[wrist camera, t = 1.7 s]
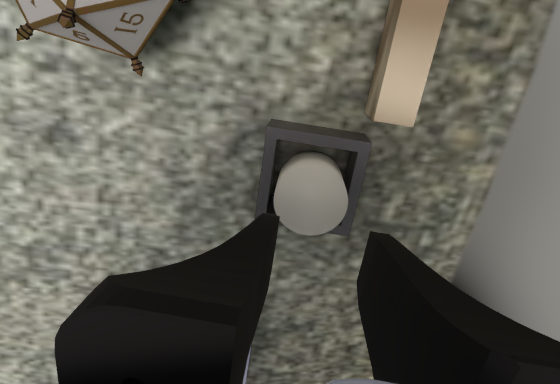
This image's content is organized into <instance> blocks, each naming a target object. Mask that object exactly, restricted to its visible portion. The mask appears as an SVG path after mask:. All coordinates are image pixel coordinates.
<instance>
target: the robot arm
mask: <svg viewBox="0 0 560 384" xmlns="http://www.w3.org/2000/svg"><path fill="white" fill-rule="evenodd" d="M279 220H280V216H276V215H270V214H264V213H262V214H261V215H259V216H258V217H257V218H256V219H255V220H254V221H253V222H251V223H250V224H249V225H248V226H247V227H245V228H244V229H243V230H242V231H240V232H239V233H238V234H236V235H235V236H234V237H232V238H230V239H229V240H227V241H226V242H224V243H223V244H221V245H219V246H218V247H216V248H214V249H212V250H210V251H207V252H205V253H203V254H201V255H198V256H195V257H193V258H190V259H187V260H184V261H182V262H179V263H175V264H172V265H168V266H165V267H160V268H156V269H152V270H146V271H141V272H134V273H127V274H120V275H112V276H108V277H107V278H106V279H105V280H103V281H102V282H101V283H100V284H99V285H98V286H97V287H96V288H95V289H94V290H93V291H92V292H91V293H90V294H89V295H88V296H87V297H86V298H85V299H84V301H83V302H82V303H81V304H80V305H79V306H78V307H77V308H76V309H75V310H74V311H73V313H72V314H71V315H70V316H69V317H68V318H67V319H66V320H65V321H64V322H63V323H62V325H61V326H60V328H59V330H58V333H57V335H56V337H55V359H56V366H57V374H58V382H59V384H246V378H247V371H248V364H249V358H250V351H251V344H252V340H253V337H254V334H255V331H256V327H257V324H258V321H259V318H260V314H261V311H262V308H263V305H264V301H265V298H266V295H267V291H268V286H269V281H270V275H271V270H272V264H273V257H274V251H275V245H276V239H277V232H278V226H279ZM357 293H358V306H359V311H360V316H361V321H362V325H363V330H364V334H365V339H366V343H367V348H368V352H369V357H370V361H371V366H372V371H373V377H374V380H373V379H334V380H332V381H330V382H328V383H326V384H560V342H559V341H557V340H554V339H552V338H550V337H548V336H545V335H543V334H541V333H538V332H536V331H534V330H532V329H530V328H528V327H526V326H523V325H521V324H519V323H517V322H515V321H513V320H511V319H510V318H508V317H506V316H504V315H502V314H500V313H498V312H496V311H494V310H492V309H491V308H489V307H487V306H485V305H484V304H482V303H480V302H479V301H477V300H476V299H474V298H472V297H471V296H469V295H468V294H466V293H464V292H463V291H461V290H460V289H458V288H457V287H455V286H454V285H452V284H451V283H450V282H448V281H447V280H446V279H444V278H443V277H442V276H440V275H439V274H437V273H436V272H435V271H434V270H432V269H431V268H430V267H428V266H427V265H426V264H425V263H424V262H422V261H421V260H420V259H419V258H417V257H416V256H415V255H414V254H413V253H412V252H410V251H409V250H408V249H407V248H406V247H404V246H403V245H402V244H401V243H400V242H398V241H397V240H396V239H395V238H393V237H392V236H390V235H389V234H384V233H378V232H372V231H370V235H369V238H368V242H367V246H366V249H365V253H364V257H363V260H362V264H361V268H360V271H359V275H358V279H357Z"/></svg>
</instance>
